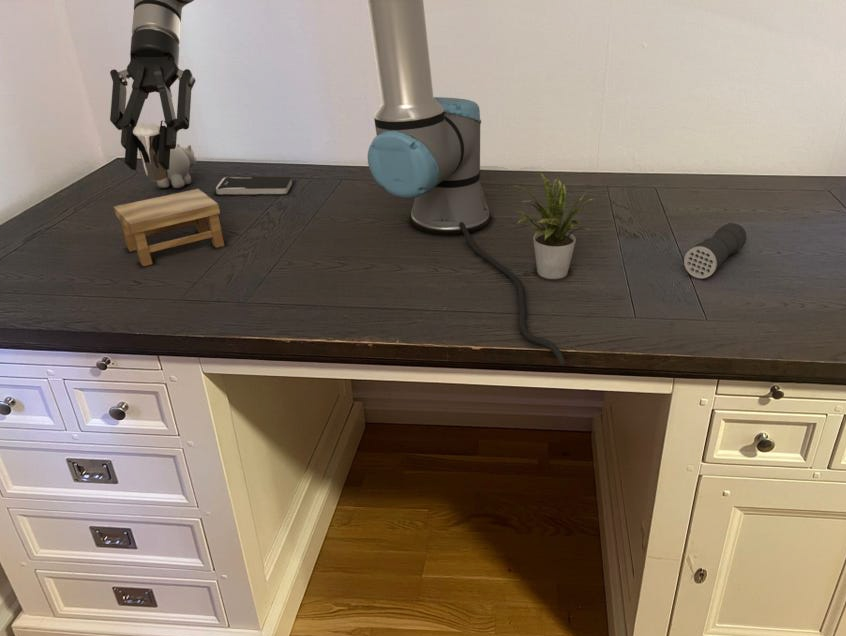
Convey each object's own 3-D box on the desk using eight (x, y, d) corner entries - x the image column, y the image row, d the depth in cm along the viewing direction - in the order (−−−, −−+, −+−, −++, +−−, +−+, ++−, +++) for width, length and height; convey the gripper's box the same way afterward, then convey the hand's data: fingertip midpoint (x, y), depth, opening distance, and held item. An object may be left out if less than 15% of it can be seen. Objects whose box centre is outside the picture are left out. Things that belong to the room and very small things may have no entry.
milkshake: (166, 184, 121) (153, 124, 115) (138, 181, 122) (124, 121, 116) (181, 175, 125) (169, 117, 119) (153, 172, 125) (140, 114, 120)
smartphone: (286, 188, 153) (214, 188, 152) (286, 194, 153) (215, 195, 153) (292, 176, 159) (223, 177, 158) (292, 182, 160) (224, 183, 159)
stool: (226, 245, 131) (218, 204, 126) (142, 267, 123) (129, 223, 118) (207, 229, 137) (198, 188, 133) (125, 248, 129) (113, 206, 125)
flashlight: (717, 244, 131) (722, 216, 129) (745, 252, 129) (752, 223, 126) (681, 273, 121) (686, 243, 118) (712, 282, 118) (718, 252, 116)
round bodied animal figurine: (212, 174, 164) (204, 137, 159) (181, 192, 154) (172, 152, 150) (184, 172, 166) (176, 134, 161) (152, 189, 156) (142, 150, 151)
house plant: (493, 259, 126) (494, 167, 117) (564, 247, 130) (570, 158, 121) (526, 294, 115) (529, 196, 106) (602, 280, 119) (612, 185, 110)
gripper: (215, 54, 127) (209, 175, 122) (113, 54, 126) (103, 176, 121) (200, 26, 120) (193, 154, 115) (92, 26, 119) (80, 155, 114)
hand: (147, 165), depth 118 cm, fingers closed on milkshake, 5 cm apart
